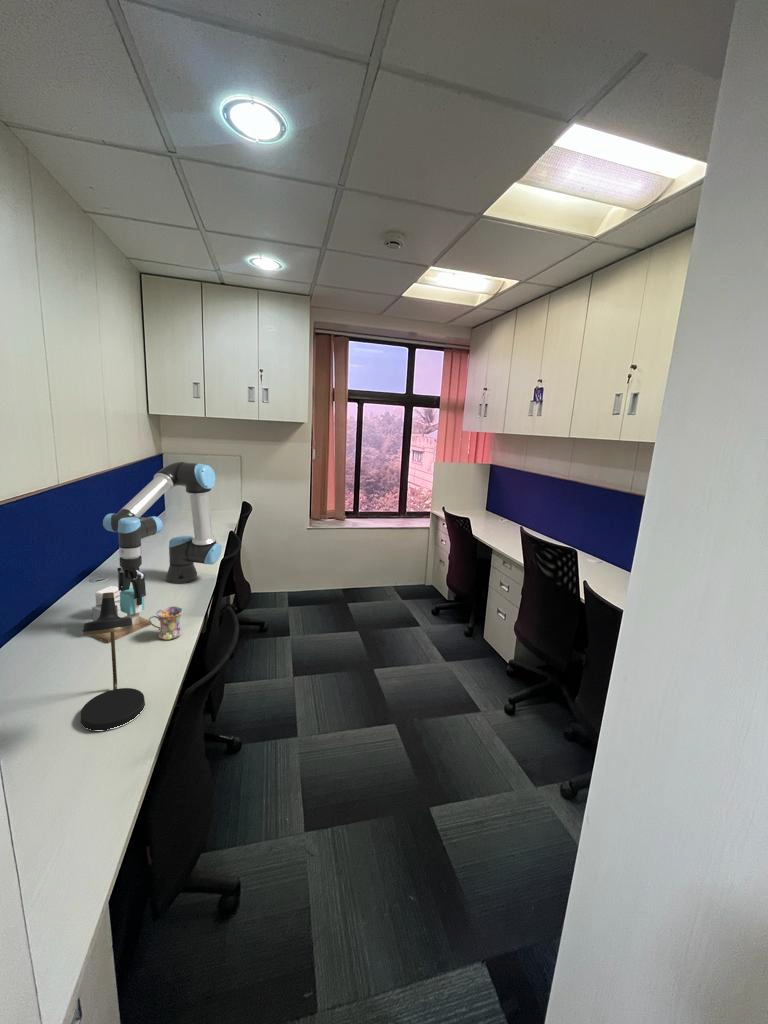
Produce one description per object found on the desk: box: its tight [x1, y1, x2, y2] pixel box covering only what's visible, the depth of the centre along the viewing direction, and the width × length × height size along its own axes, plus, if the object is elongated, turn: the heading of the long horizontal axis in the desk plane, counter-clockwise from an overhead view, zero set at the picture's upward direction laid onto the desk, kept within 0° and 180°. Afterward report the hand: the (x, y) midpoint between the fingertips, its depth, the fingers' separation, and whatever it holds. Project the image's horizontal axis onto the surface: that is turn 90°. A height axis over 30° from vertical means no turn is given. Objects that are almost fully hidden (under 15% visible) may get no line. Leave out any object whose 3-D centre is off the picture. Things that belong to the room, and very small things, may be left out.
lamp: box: [79, 592, 146, 730], centre depth 120 cm, size 16×22×38 cm
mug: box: [148, 606, 184, 640], centre depth 164 cm, size 12×9×11 cm
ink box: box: [95, 585, 123, 615], centre depth 176 cm, size 9×5×12 cm, turn 168°
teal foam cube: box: [120, 587, 145, 615], centre depth 168 cm, size 6×6×8 cm
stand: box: [90, 604, 152, 644], centre depth 166 cm, size 18×12×11 cm, turn 156°
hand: (132, 609), depth 168 cm, fingers closed on teal foam cube, 6 cm apart
